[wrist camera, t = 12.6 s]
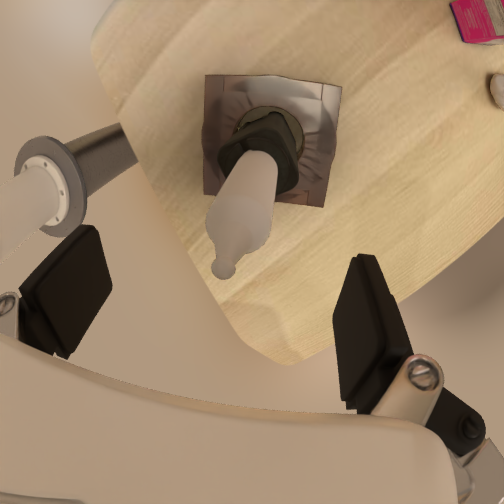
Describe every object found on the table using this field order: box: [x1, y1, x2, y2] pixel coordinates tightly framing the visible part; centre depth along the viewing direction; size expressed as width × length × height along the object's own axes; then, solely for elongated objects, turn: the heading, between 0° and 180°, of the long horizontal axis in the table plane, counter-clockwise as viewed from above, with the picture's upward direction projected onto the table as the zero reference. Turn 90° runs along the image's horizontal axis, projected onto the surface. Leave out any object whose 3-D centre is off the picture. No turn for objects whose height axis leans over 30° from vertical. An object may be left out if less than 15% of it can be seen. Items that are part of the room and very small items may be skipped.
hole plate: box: [202, 75, 342, 208], centre depth 29 cm, size 14×14×2 cm
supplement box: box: [450, 0, 504, 45], centre depth 12 cm, size 6×6×12 cm
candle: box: [205, 112, 299, 280], centre depth 20 cm, size 5×5×25 cm
